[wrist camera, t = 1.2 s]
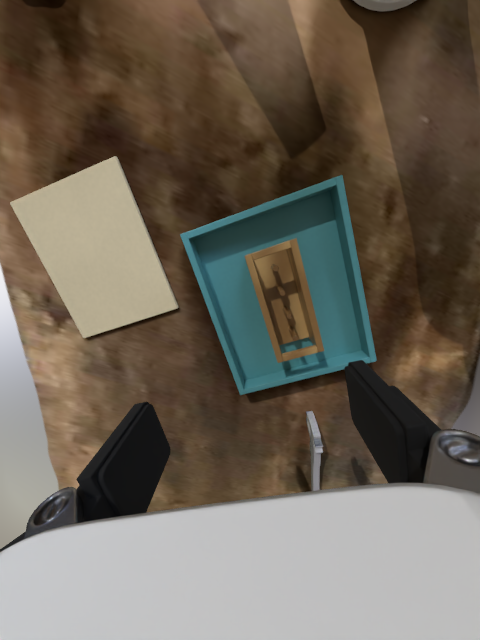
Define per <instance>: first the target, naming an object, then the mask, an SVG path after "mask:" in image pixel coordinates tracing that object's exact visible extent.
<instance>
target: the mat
mask: <svg viewBox="0 0 480 640" xmlns="http://www.w3.org/2000/svg"><path fill="white" fill-rule="evenodd" d="M10 204H11V206H12V208H13V210H14V212H15V213H16V215H17V217H18V219H19V221H20V223H21V225H22V226H23V228H24V230H25V232H26V234H27V236H28V237H29V239H30V241H31V243H32V245H33V247H34V248H35V250H36V252H37V254H38V256H39V258H40V259H41V261H42V263H43V265H44V267H45V269H46V270H47V272H48V274H49V276H50V278H51V280H52V282H53V283H54V285H55V287H56V289H57V291H58V293H59V294H60V296H61V298H62V300H63V302H64V304H65V305H66V307H67V309H68V311H69V313H70V315H71V316H72V318H73V320H74V322H75V324H76V326H77V327H78V329H79V331H80V333H81V335H82V337H83V338H87V337H90V336H93V335H96V334H99V333H102V332H106V331H109V330H112V329H115V328H118V327H121V326H124V325H128V324H131V323H134V322H137V321H140V320H143V319H146V318H149V317H153V316H156V315H159V314H162V313H165V312H168V311H171V310H174V309H178V308H179V306H178V304H177V301H176V299H175V297H174V294H173V292H172V289H171V287H170V284H169V282H168V280H167V277H166V275H165V272H164V270H163V267H162V265H161V262H160V260H159V258H158V255H157V253H156V250H155V248H154V245H153V243H152V240H151V238H150V236H149V233H148V231H147V228H146V226H145V223H144V221H143V218H142V216H141V214H140V211H139V209H138V206H137V204H136V201H135V199H134V196H133V194H132V192H131V189H130V187H129V184H128V182H127V179H126V177H125V174H124V172H123V170H122V167H121V165H120V162H119V160H118V158H117V157H116V156H114V157H112V158H110V159H108V160H105V161H103V162H101V163H99V164H96V165H94V166H92V167H89V168H87V169H85V170H83V171H80V172H78V173H76V174H74V175H71V176H69V177H67V178H65V179H62V180H60V181H58V182H56V183H53V184H51V185H49V186H47V187H44V188H42V189H40V190H37V191H35V192H33V193H31V194H28V195H26V196H24V197H22V198H19V199H17V200H15V201H13V202H10Z"/></svg>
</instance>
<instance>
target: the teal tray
mask: <svg viewBox="0 0 480 640" xmlns="http://www.w3.org/2000/svg"><path fill="white" fill-rule="evenodd" d="M180 236H181V238H182V241H183V244H184V246H185V249H186V252H187V254H188V257H189V260H190V262H191V265H192V268H193V270H194V273H195V276H196V278H197V281H198V284H199V286H200V289H201V292H202V294H203V297H204V300H205V302H206V305H207V308H208V310H209V313H210V316H211V318H212V321H213V324H214V326H215V329H216V332H217V334H218V337H219V340H220V342H221V345H222V348H223V350H224V353H225V356H226V358H227V361H228V364H229V366H230V369H231V372H232V374H233V377H234V380H235V382H236V385H237V388H238V390H239V393H240V395H243V394H247V393H251V392H255V391H259V390H263V389H267V388H271V387H275V386H279V385H283V384H287V383H291V382H295V381H299V380H303V379H307V378H311V377H315V376H319V375H323V374H327V373H331V372H335V371H339V370H343V369H345V366H348V363H349V362H353V361H358V360H363V361H364V362H365V363H366V364H367V363H370V362H375V361H377V360H376V355H375V350H374V344H373V339H372V333H371V328H370V322H369V317H368V312H367V306H366V301H365V295H364V290H363V284H362V279H361V274H360V268H359V263H358V257H357V252H356V247H355V241H354V236H353V230H352V225H351V219H350V214H349V209H348V203H347V198H346V192H345V187H344V181H343V176H342V175H340V176H338V177H335V178H332V179H329V180H327V181H324V182H321V183H319V184H316V185H313V186H310V187H308V188H305V189H302V190H300V191H297V192H294V193H292V194H289V195H286V196H283V197H281V198H278V199H275V200H273V201H270V202H267V203H264V204H262V205H259V206H256V207H254V208H251V209H248V210H245V211H243V212H240V213H237V214H235V215H232V216H229V217H227V218H224V219H221V220H218V221H216V222H213V223H210V224H208V225H205V226H202V227H199V228H197V229H194V230H191V231H189V232H186V233H183V234H181V235H180ZM295 238H297V242H298V246H299V250H300V254H301V258H302V262H303V266H304V270H305V274H306V278H307V282H308V286H309V291H310V295H311V299H312V303H313V307H314V311H315V315H316V319H317V323H318V327H319V331H320V335H321V339H322V343H323V347H324V351H322V352H318V353H314V354H310V355H307V356H303V357H299V358H295V359H292V360H288V361H283V362H280V363H278V362H277V359H276V356H275V353H274V349H273V346H272V343H271V340H270V337H269V333H268V330H267V327H266V324H265V321H264V317H263V314H262V311H261V308H260V305H259V301H258V298H257V295H256V292H255V289H254V285H253V282H252V279H251V276H250V272H249V269H248V266H247V263H246V260H245V255H247V254H250V253H254V252H257V251H260V250H263V249H266V248H269V247H271V246H274V245H277V244H280V243H283V242H285V241H288V240H292V239H295ZM312 345H313V343H312V342H311V340H310V339H309V337H308V338H304V339H300V340H297V341H293V342H289V343H286V344H282V345H279V346H280V349H281V353H282V354H283V353H287V352H290V351H294V350H298V349H301V348H305V347H309V346H312Z"/></svg>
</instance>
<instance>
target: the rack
mask: <svg viewBox="0 0 480 640" xmlns="http://www.w3.org/2000/svg"><path fill="white" fill-rule="evenodd" d="M245 260H246V263H247V266H248V269H249V272H250V276H251V279H252V282H253V285H254V289H255V292H256V295H257V298H258V301H259V305H260V308H261V311H262V314H263V317H264V321H265V324H266V327H267V330H268V333H269V337H270V340H271V343H272V346H273V349H274V353H275V356H276V359H277V362H278V363H280V362H283V361H288V360H292V359H295V358H299V357H303V356H307V355H310V354H314V353H318V352H322V351H324V347H323V343H322V339H321V335H320V331H319V327H318V323H317V319H316V315H315V311H314V307H313V303H312V299H311V295H310V291H309V286H308V282H307V278H306V274H305V270H304V266H303V262H302V258H301V254H300V250H299V246H298V242H297V238H295V239H292V240H288V241H285V242H283V243H280V244H277V245H274V246H271V247H269V248H266V249H263V250H260V251H257V252H254V253H250V254H247V255H245ZM308 337H309V339H310V340H311V342H312V343H313V345H312V346H309V347H305V348H301V349H298V350H294V351H290V352H287V353H283V354H282V353H281V349H280V346H279V345H282V344H286V343H289V342H293V341H297V340H300V339H304V338H308Z"/></svg>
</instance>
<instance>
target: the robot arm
mask: <svg viewBox="0 0 480 640" xmlns="http://www.w3.org/2000/svg"><path fill="white" fill-rule="evenodd" d="M353 1H355V2H356V3H357V4H358V5H360V6H362V7H365V8H367V9H369V10H375V11H381V12H382V11H392V10H396V9H399V8H402V7H405V6H408V5H409V4H411V3H413V2H415V1H416V0H353ZM345 375H346V382H347V389H348V395H349V402H350V409H351V416H352V420H353V422H354V425H355V426H356V428H357V430H358V431H359V433H360V435H361V437H362V438H363V440H364V442H365V443H366V445H367V447H368V449H369V450H370V452H371V454H372V455H373V457H374V459H375V461H376V462H377V464H378V466H379V467H380V469H381V471H382V473H383V474H384V476H385V478H386V480H387V481H388V483H387V484H372V485H362V486H352V487H343V488H334V489H325V490H317V491H309V492H301V493H293V494H285V495H277V496H269V497H261V498H253V499H245V500H237V501H230V502H222V503H214V504H207V505H199V506H192V507H184V508H177V509H170V510H162V511H155V512H148V513H146V511H147V509H148V506H149V504H150V501H151V499H152V497H153V494H154V492H155V489H156V487H157V485H158V482H159V480H160V477H161V475H162V472H163V470H164V468H165V465H166V463H167V460H168V458H169V455H170V446H169V443H168V441H167V439H166V436H165V434H164V431H163V429H162V427H161V424H160V422H159V419H158V417H157V415H156V412H155V410H154V407H153V405H151V404H149V403H148V402H144V403H139V404H135V405H134V406H133V407H132V408H131V410H130V411H129V412H128V414H127V415H126V416H125V417H124V419H123V420H122V421H121V423H120V424H119V425H118V426H117V428H116V429H115V430H114V432H113V433H112V434H111V435H110V437H109V438H108V439H107V441H106V442H105V443H104V444H103V446H102V447H101V448H100V450H99V451H98V452H97V453H96V455H95V456H94V457H93V459H92V460H91V461H90V462H89V464H88V465H87V466H86V468H85V469H84V470H83V471H82V473H81V474H80V475H79V477H78V478H77V481H78V483H79V485H80V486H79V487H78V488H77V490H76V489H75V488H74V487H67V488H64V489H61V490H59V491H57V492H56V493H54V494H52V495H51V496H50V497H48V498H47V499H46V500H45V501H43V502H42V503H41V504H40V505H39V506H38V508H37V509H36V510H35V511H34V512H33V514H32V515H31V517H30V518H29V521H28V523H27V528H26V532H24V533H23V534H22V535H20V536H19V537H17V538H16V539H14V540H13V541H12V542H10V543H9V544H8V545H6V546H5V547H3V548H2V549H0V640H480V437H479V436H477V435H475V434H472V433H469V432H466V431H462V430H456V429H445V430H441V429H440V428H439V427H438V426H437V425H436V424H435V423H433V422H432V421H431V420H430V419H429V418H428V417H427V416H426V415H425V414H424V413H423V412H422V411H421V410H420V409H419V408H418V407H417V406H416V405H415V404H414V403H412V402H411V401H410V400H409V399H408V398H407V397H406V396H405V395H404V394H403V393H402V392H401V391H400V390H399V389H398V388H396V387H395V386H388V385H387V384H386V383H385V382H384V381H383V380H382V379H381V378H380V377H379V376H378V375H377V374H376V373H375V372H374V371H373V370H372V369H371V368H370V367H369V366H368V365H367V364H366V363H365V362H364V361H363V360H358V361H353V362H349V363H348V366H345Z"/></svg>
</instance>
